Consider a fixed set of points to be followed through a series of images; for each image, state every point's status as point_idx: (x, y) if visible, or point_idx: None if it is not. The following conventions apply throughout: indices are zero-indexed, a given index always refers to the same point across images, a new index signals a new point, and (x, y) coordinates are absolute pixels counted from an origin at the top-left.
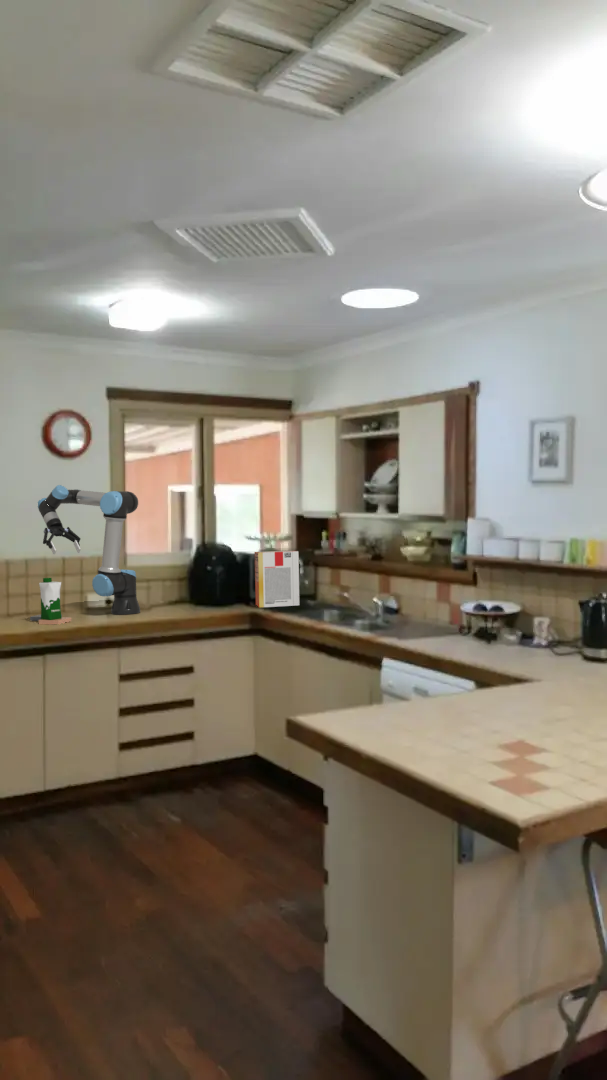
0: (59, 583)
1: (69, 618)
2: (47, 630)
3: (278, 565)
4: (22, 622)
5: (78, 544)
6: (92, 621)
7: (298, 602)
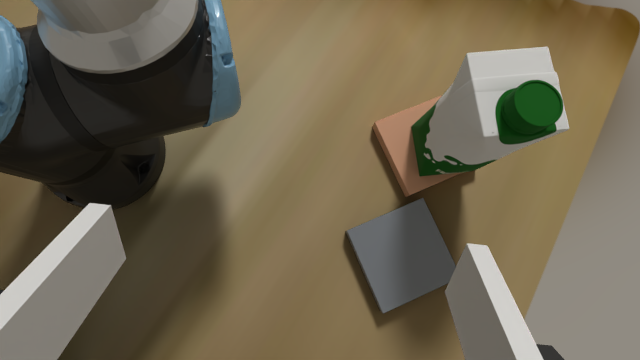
0: (477, 54)
1: (383, 118)
2: (521, 23)
3: None
4: (494, 257)
5: (18, 276)
6: (326, 70)
7: None
